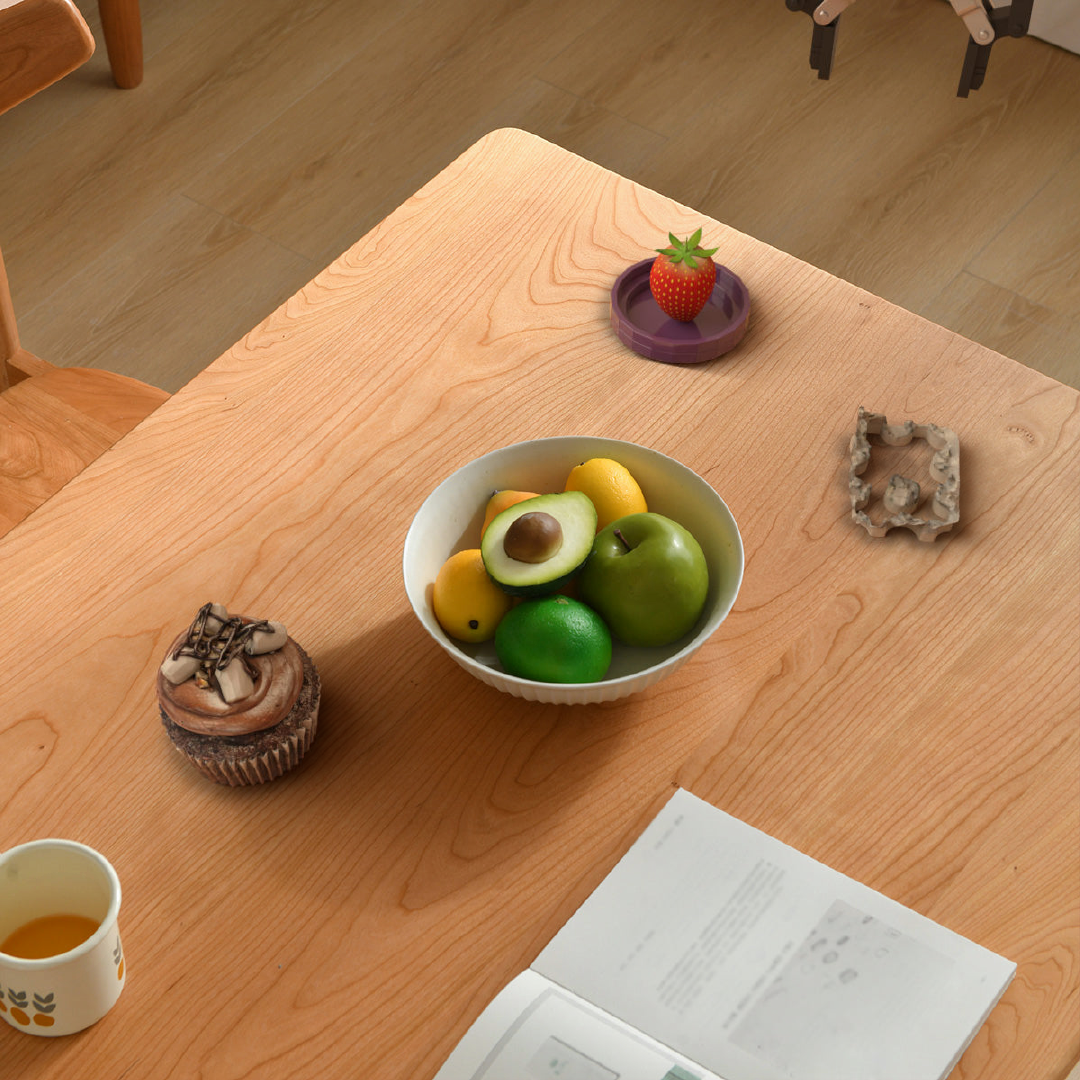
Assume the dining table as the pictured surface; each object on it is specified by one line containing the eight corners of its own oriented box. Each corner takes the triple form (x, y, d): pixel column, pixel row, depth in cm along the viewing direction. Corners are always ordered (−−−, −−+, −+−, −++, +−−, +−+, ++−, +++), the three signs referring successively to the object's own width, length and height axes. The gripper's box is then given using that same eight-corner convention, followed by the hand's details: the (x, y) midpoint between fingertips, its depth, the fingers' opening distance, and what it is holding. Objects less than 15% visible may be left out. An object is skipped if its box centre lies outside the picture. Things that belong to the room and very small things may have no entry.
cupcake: (152, 795, 82) (111, 702, 74) (205, 665, 88) (172, 567, 80) (306, 819, 80) (280, 727, 73) (348, 685, 87) (329, 587, 79)
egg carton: (846, 439, 101) (856, 399, 98) (949, 453, 100) (962, 412, 97) (839, 546, 94) (849, 506, 91) (950, 561, 93) (964, 522, 90)
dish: (758, 293, 112) (762, 268, 110) (730, 381, 105) (734, 355, 103) (629, 269, 114) (630, 244, 112) (593, 353, 107) (594, 328, 105)
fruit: (712, 341, 107) (722, 260, 101) (646, 339, 107) (652, 257, 101) (710, 297, 110) (720, 216, 104) (647, 295, 111) (653, 214, 105)
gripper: (1085, -209, 73) (1015, 67, 86) (822, -230, 77) (791, 39, 89) (1077, -153, 69) (1004, 131, 81) (798, -178, 72) (768, 98, 84)
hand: (893, 82), depth 85 cm, fingers open, 8 cm apart
